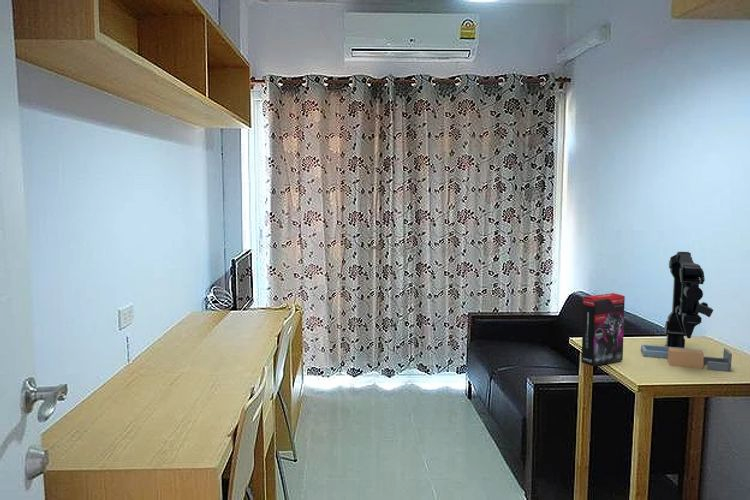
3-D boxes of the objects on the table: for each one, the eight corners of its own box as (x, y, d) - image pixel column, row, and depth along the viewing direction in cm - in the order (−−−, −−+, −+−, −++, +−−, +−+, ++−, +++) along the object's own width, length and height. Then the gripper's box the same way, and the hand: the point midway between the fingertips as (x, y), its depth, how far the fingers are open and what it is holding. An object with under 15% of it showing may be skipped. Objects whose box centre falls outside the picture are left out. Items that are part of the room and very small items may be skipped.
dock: (707, 369, 235) (708, 352, 234) (702, 363, 243) (704, 346, 242) (730, 371, 233) (731, 353, 232) (725, 365, 240) (726, 348, 239)
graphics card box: (592, 367, 237) (596, 299, 233) (579, 362, 243) (582, 295, 239) (623, 361, 244) (626, 295, 241) (609, 357, 251) (612, 292, 247)
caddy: (669, 365, 240) (670, 350, 240) (667, 362, 245) (668, 347, 244) (702, 368, 237) (704, 353, 236) (700, 364, 242) (701, 350, 241)
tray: (643, 356, 252) (644, 350, 251) (640, 350, 261) (641, 344, 261) (689, 360, 247) (689, 354, 246) (684, 353, 256) (684, 348, 256)
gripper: (717, 302, 227) (714, 343, 228) (706, 293, 244) (703, 331, 246) (685, 300, 230) (682, 340, 232) (676, 292, 248) (673, 329, 249)
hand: (686, 335), depth 240 cm, fingers open, 9 cm apart
